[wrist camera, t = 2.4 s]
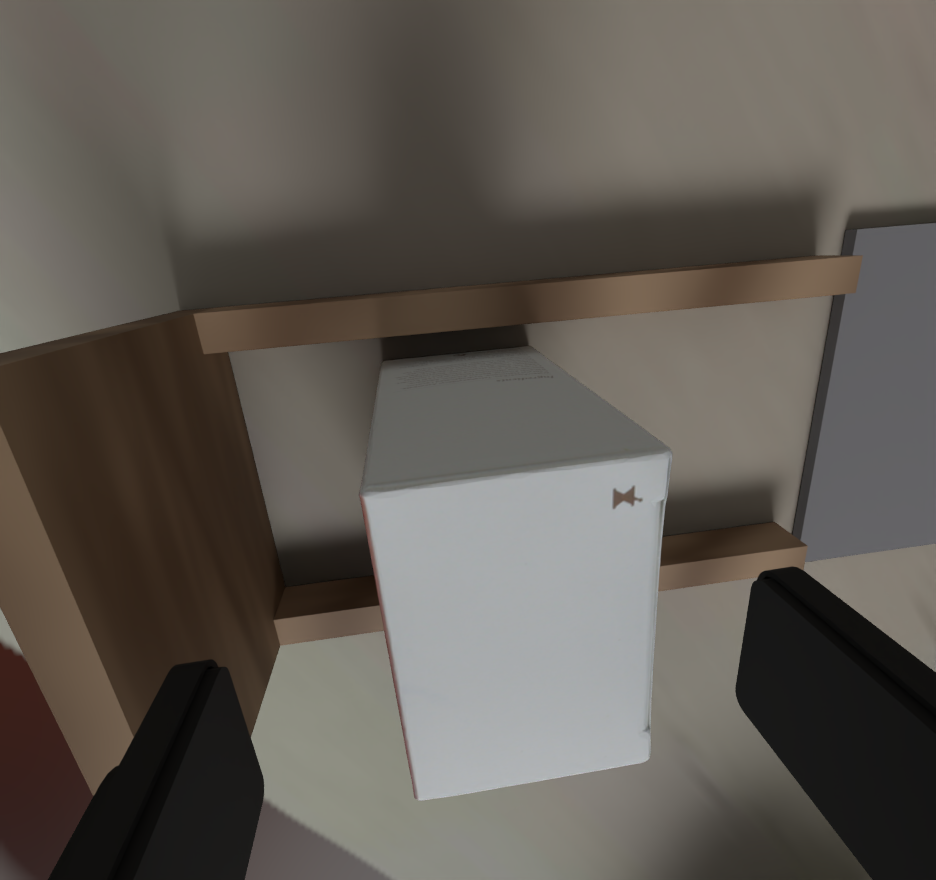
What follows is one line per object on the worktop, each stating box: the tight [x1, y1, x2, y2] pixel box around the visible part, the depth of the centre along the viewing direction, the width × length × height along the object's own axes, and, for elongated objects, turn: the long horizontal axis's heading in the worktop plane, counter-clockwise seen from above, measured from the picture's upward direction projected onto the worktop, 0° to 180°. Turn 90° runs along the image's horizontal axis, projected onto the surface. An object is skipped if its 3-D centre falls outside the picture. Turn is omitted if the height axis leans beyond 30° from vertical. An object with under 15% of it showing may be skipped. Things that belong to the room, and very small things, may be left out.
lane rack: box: [0, 255, 863, 796], centre depth 15 cm, size 23×12×10 cm, turn 94°
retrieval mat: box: [792, 223, 936, 562], centre depth 21 cm, size 10×14×1 cm
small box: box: [359, 346, 672, 801], centre depth 15 cm, size 8×6×10 cm
